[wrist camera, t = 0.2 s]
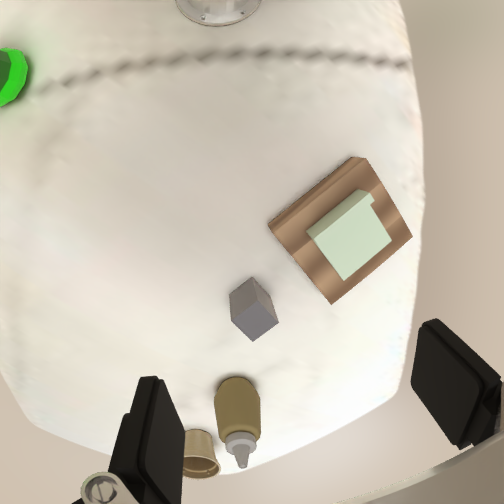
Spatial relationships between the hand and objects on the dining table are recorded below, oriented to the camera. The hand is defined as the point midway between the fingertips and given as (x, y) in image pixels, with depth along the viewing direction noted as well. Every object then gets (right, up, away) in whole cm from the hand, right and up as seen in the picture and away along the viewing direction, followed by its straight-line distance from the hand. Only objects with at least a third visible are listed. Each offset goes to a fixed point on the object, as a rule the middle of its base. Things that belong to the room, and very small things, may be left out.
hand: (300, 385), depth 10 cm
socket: (+11, +8, +37) cm, 39 cm away
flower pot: (-13, -34, +49) cm, 61 cm away
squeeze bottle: (-5, -20, +45) cm, 49 cm away
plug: (-2, -2, +39) cm, 39 cm away
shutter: (+12, +7, +32) cm, 35 cm away
